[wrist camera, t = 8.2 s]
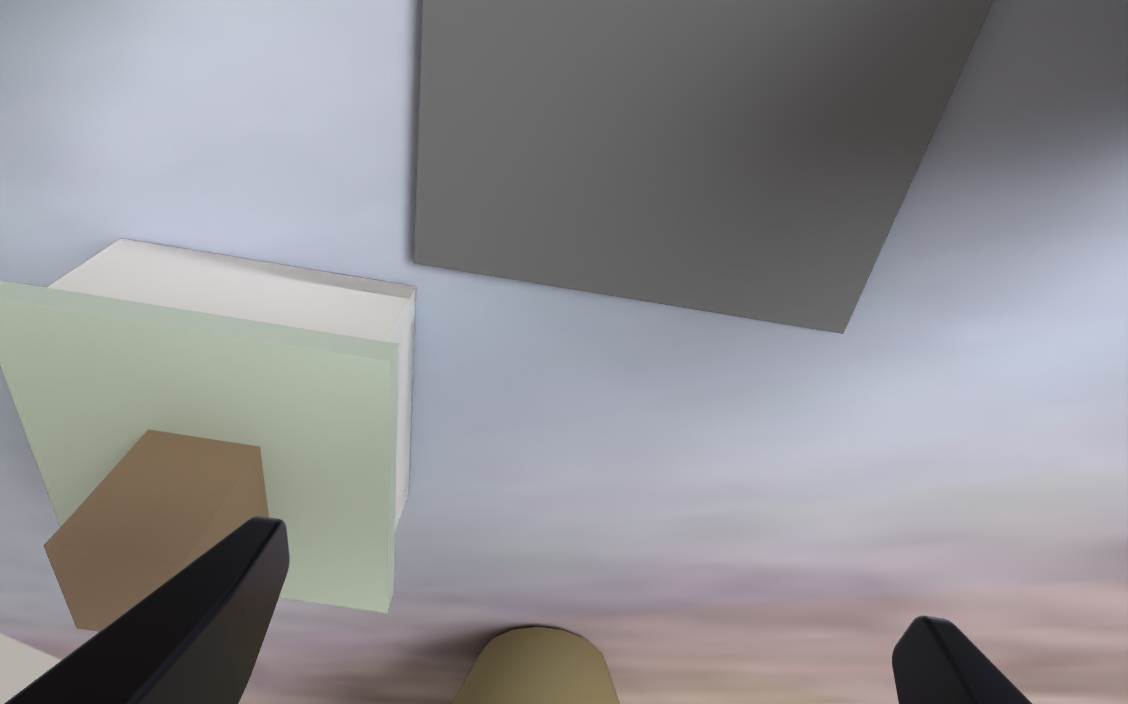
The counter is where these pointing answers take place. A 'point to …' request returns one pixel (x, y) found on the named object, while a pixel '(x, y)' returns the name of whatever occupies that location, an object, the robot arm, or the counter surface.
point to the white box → (264, 304)
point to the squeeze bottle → (538, 671)
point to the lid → (201, 444)
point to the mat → (680, 144)
